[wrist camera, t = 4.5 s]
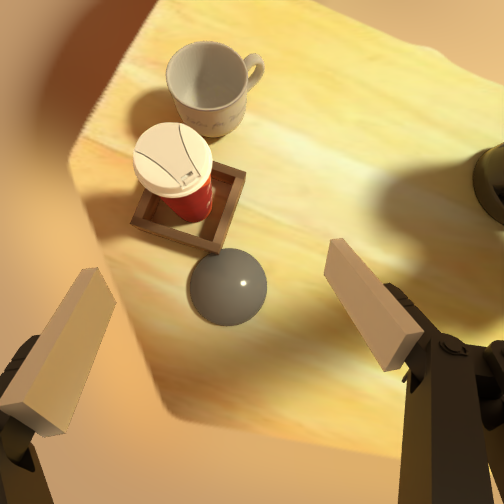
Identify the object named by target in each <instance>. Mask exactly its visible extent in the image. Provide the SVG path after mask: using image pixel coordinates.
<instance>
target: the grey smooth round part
mask: <svg viewBox="0 0 504 504" xmlns="http://www.w3.org/2000/svg"><path fill="white" fill-rule="evenodd" d="M266 293H267V281H266V276H265V273H264V271H263V268H262V267H261V265H260V264H259V262H258V261H257V260H256V259H255V258H254V257H252V256H251V255H250V254H248V253H246V252H244V251H242V250H238V249H232V248H226V249H221V251H220V254H219V255H217V254H214V253H210V254H208V255H207V256H205V257H204V258H203V259H202V260H201V261H200V262H199V263H198V265H197V266H196V268H195V269H194V272H193V274H192V277H191V282H190V294H191V298H192V301H193V304H194V306H195V308H196V309H197V310H198V312H199V313H200V314H201V315H202V316H203V317H204V318H206V319H207V320H209V321H210V322H212V323H215V324H218V325H223V326H233V325H238V324H241V323H244V322H246V321H248V320H249V319H251V318H252V317H253V316H254V315H255V314H256V313H257V312H258V311H259V310H260V308H261V307H262V305H263V303H264V300H265V297H266Z"/></svg>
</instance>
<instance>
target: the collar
mask: <svg viewBox="0 0 504 504" xmlns="http://www.w3.org/2000/svg"><path fill="white" fill-rule="evenodd" d="M210 174H211V178H214V179H217V180H220V181H223V182H226V183H229V184H232V185H233V186H232V189H231V192H230V194H229V197H228V200H227V203H226V206H225V208H224V211H223V214H222V217H221V220H220V222H219V225H218V228H217V231H216V234H215V236H214V239H213V242H212V241H209V240H206V239H203V238H200V237H197V236H194V235H191V234H188V233H184V232H181V231H178V230H175V229H172V228H169V227H166V226H163V225H160V224H157V223H154V222H151V220H152V218H153V215H154V213H155V210H156V208H157V205H158V203H159V201H160V197H159V196H158V195H156V194H154V193H152V192H150V191H149V190H148V189H146V188H145V190H144V192H143V195H142V197H141V199H140V202H139V204H138V206H137V209H136V211H135V213H134V216H133V218H132V221H131V223H130V224H131V225H133V226H134V227H136V228H138V229H139V230H142V231H145V232H149V233H152V234H155V235H158V236H161V237H164V238H167V239H170V240H173V241H176V242H179V243H182V244H185V245H188V246H191V247H194V248H197V249H200V250H203V251H206V252H209V253H214V254H217V255H219V254H220V251H221V249H222V247H223V244H224V241H225V238H226V235H227V232H228V229H229V226H230V224H231V221H232V218H233V215H234V212H235V209H236V206H237V204H238V201H239V198H240V195H241V192H242V189H243V186H244V183H245V179H246V172H244V171H241V170H238V169H235V168H232V167H229V166H226V165H223V164H220V163H218V162H215V161H212V169H211V173H210Z"/></svg>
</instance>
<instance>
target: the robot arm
mask: <svg viewBox="0 0 504 504" xmlns="http://www.w3.org/2000/svg"><path fill="white" fill-rule="evenodd" d="M473 181H474V188H475V192H476V195H477V197H478V199H479V201H480V203H481V205H482V206H483V208H484V209H485V210H486V211H487V212H488V214H489V215H491V216H492V217H493V218H494V219H495V220H497V221H498V222H500V223H502V224H503V225H504V142H503V143H501V144H499V145H497V146H495V147H494V148H492V149H490V150H488V151H487V152H485V153H484V154H483V155H482V156H481V157H480V159H479V160H478V162H477V164H476V166H475V170H474V177H473ZM324 276H325V277H326V279H327V281H328V282H329V284H330V285H331V287H332V289H333V290H334V292H335V294H336V295H337V297H338V298H339V300H340V302H341V303H342V305H343V306H344V308H345V310H346V311H347V313H348V315H349V316H350V318H351V319H352V321H353V323H354V324H355V326H356V327H357V329H358V331H359V332H360V334H361V336H362V337H363V339H364V340H365V342H366V344H367V345H368V347H369V348H370V350H371V352H372V353H373V355H374V357H375V358H376V360H377V361H378V363H379V365H380V366H381V368H382V369H383V371H384V372H386V371H391V370H397V369H400V368H401V366H402V365H403V363H404V362H405V363H406V364H407V365H408V367H409V370H408V371H407V373H406V374H405V376H404V377H403V379H402V382H403V383H405V381H406V380H407V387H406V401H405V414H404V428H403V441H402V454H401V468H400V481H399V482H400V483H399V495H398V504H494V500H493V494H492V487H491V480H490V473H489V466H490V469H491V472H492V474H493V477H494V479H495V482H496V485H497V487H498V490H499V492H500V496H501V498H502V501H503V503H504V341H503V340H496V341H494V342H492V343H491V344H490V345H489V346H488V347H482V346H475V345H467V344H465V343H463V342H462V341H461V340H459V339H458V338H456V337H454V336H452V335H449V334H445V333H441V332H440V331H439V330H438V329H437V328H436V327H435V326H434V325H433V324H432V323H431V322H430V321H429V319H428V318H427V317H426V316H425V315H424V314H423V313H422V312H421V311H420V310H419V309H418V308H417V307H416V306H414V304H413V302H412V301H411V300H410V299H408V297H407V296H406V295H405V294H404V293H403V292H402V291H401V290H400V289H399V288H397V287H396V286H394V285H392V284H391V283H386V284H382V283H381V281H380V280H379V279H378V278H377V277H376V276H375V275H374V273H373V272H372V271H371V270H370V269H369V268H368V267H367V265H366V264H365V263H364V262H363V261H362V260H361V259H360V258H359V256H358V255H357V254H356V253H355V252H354V251H353V250H352V248H351V247H350V246H349V245H348V244H347V243H346V242H345V240H344V239H343V238H340V239H332V240H330V245H329V250H328V255H327V260H326V265H325V270H324ZM115 305H116V301H115V299H114V297H113V295H112V293H111V291H110V290H109V288H108V286H107V284H106V282H105V280H104V278H103V277H102V275H101V273H100V271H99V269H98V267H97V268H89V269H82V271H81V272H80V274H79V275H78V277H77V278H76V280H75V282H74V283H73V285H72V286H71V288H70V290H69V291H68V293H67V294H66V296H65V298H64V299H63V301H62V302H61V304H60V305H59V307H58V308H57V310H56V312H55V313H54V315H53V316H52V318H51V320H50V321H49V323H48V324H47V326H46V327H45V329H44V331H43V332H42V334H41V335H34V336H32V337H31V338H30V339H28V340H27V341H26V342H25V343H24V344H23V345H22V346H21V347H20V348H19V349H18V351H17V352H16V354H15V355H14V357H13V358H12V361H11V362H10V363H9V364H8V365H7V367H6V369H5V370H4V373H2V374H1V376H0V504H54V503H53V499H52V497H51V494H50V491H49V488H48V485H47V482H46V479H45V476H44V473H43V470H42V467H41V465H40V462H39V459H38V456H37V453H36V450H35V447H34V446H33V444H32V443H31V442H30V441H31V440H32V437H33V435H34V433H35V432H36V433H37V434H39V435H41V436H42V437H50V436H55V435H60V434H65V433H66V432H67V429H68V426H69V424H70V421H71V419H72V416H73V413H74V411H75V408H76V406H77V403H78V401H79V398H80V395H81V393H82V390H83V387H84V385H85V382H86V380H87V377H88V374H89V372H90V370H91V367H92V364H93V362H94V359H95V357H96V354H97V351H98V349H99V346H100V344H101V341H102V338H103V336H104V333H105V331H106V328H107V326H108V323H109V320H110V318H111V315H112V312H113V310H114V307H115ZM488 464H489V466H488Z"/></svg>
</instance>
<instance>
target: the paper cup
mask: <svg viewBox="0 0 504 504" xmlns="http://www.w3.org/2000/svg"><path fill="white" fill-rule="evenodd" d="M179 124H180V125H179ZM133 166H134V171H135V174H136V176H137V178H138V180H139V181H140V183H141V184H142V185H143V186H144V187H145V188H146V189H148V190H149V191H150V192H152V193H154V194H156V195H158V196H159V197H160V198H161V199H162V200H163V201H164V202H165V203H166V204H167V205H168V206H169V207H170V208H171V209H172V210H173V211H174V212H175V213H176V214H177V215H178V216H180V217H181V218H182V219H184V220H185V221H188V222H200V221H202V220H204V219H205V218H207V217H208V215H209V214H210V212H211V210H212V186H211V174H210V173H211V169H212V154H211V150H210V148H209V146H208V144H207V143H206V141H205V140H204V139H203V138H202V137H201V136H200V135H199V134H198V133H197V132H196V131H195V130H193V129H192V128H190V127H189V126H187V125H184V124H182V123H173V122H165V123H160V124H157V125H154V126H152V127H151V128H149V129H148V130H146V131H145V132H144V133H143V134H142V135H141V136H140V138H139V139H138V141H137V143H136V146H135V149H134V152H133Z"/></svg>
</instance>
